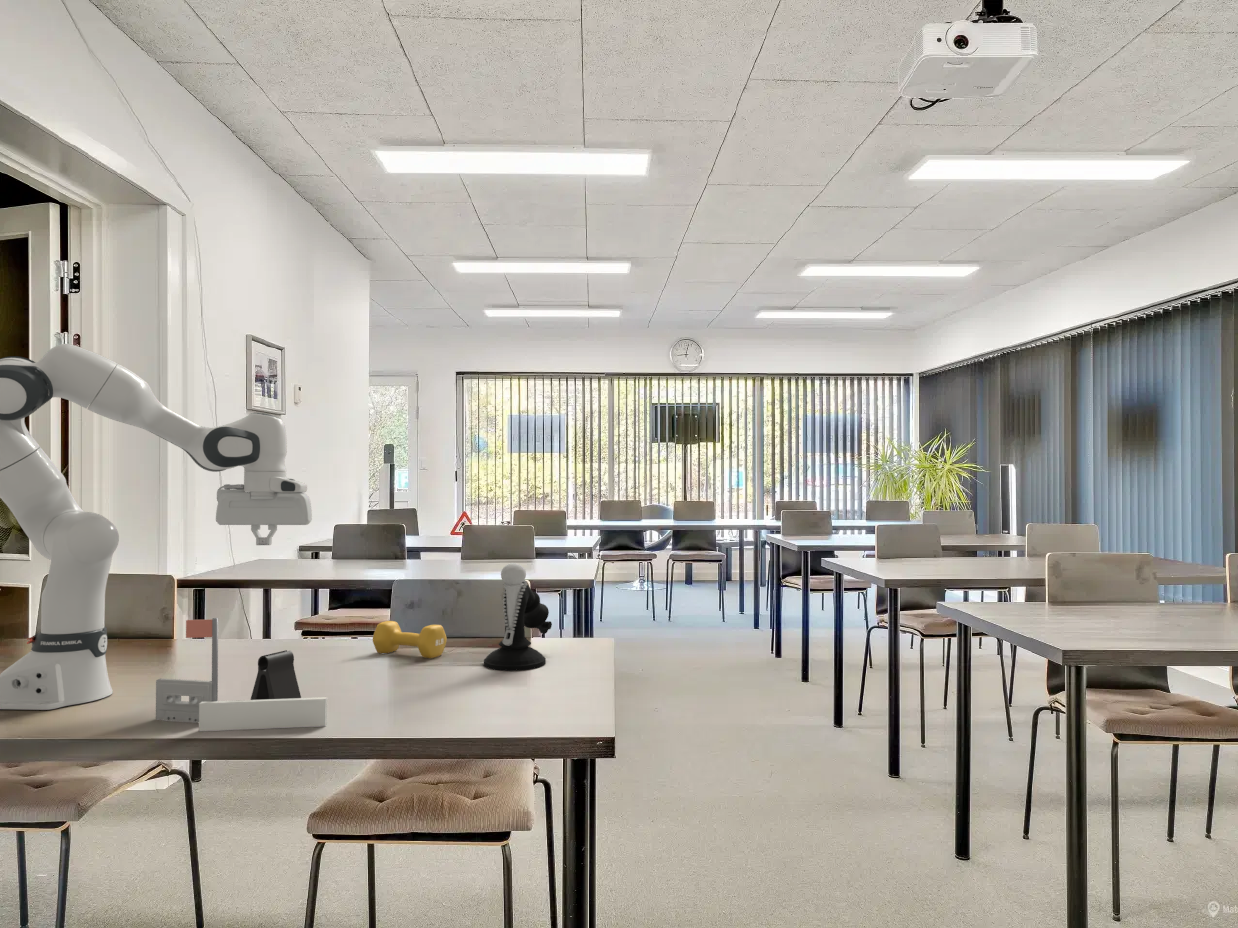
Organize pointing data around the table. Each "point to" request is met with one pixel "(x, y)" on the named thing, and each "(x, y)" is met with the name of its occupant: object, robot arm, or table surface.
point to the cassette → (171, 703)
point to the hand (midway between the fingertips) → (263, 545)
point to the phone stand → (276, 677)
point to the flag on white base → (251, 711)
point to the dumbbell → (410, 639)
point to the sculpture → (519, 623)
